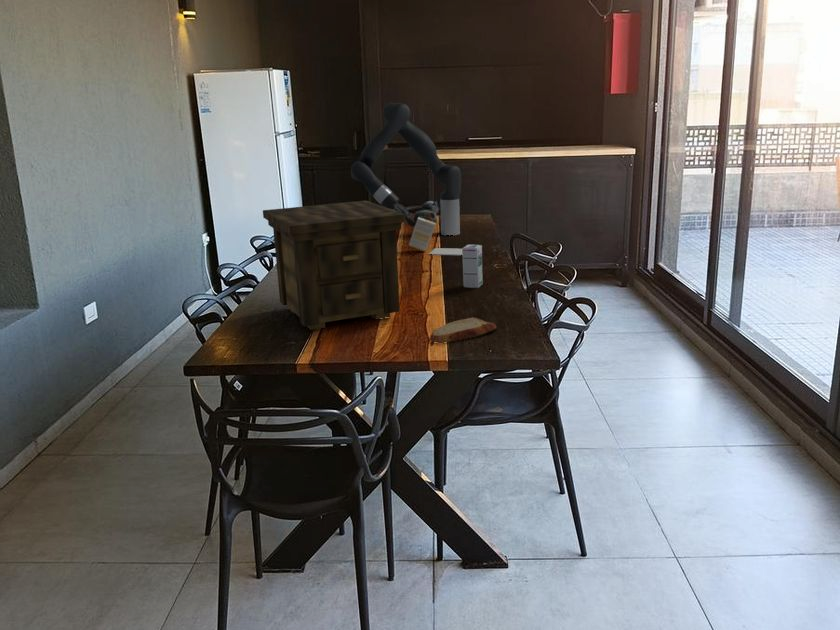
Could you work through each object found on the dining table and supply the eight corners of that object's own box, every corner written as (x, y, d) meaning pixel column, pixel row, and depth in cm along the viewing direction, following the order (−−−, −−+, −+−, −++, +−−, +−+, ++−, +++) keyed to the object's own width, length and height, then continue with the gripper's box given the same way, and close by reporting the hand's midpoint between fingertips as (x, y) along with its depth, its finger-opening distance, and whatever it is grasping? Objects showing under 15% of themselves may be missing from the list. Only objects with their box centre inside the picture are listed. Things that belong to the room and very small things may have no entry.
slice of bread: (427, 344, 204) (427, 332, 203) (437, 325, 221) (437, 313, 219) (492, 346, 200) (492, 333, 199) (497, 326, 217) (497, 314, 216)
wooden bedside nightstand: (371, 293, 256) (365, 200, 247) (409, 319, 226) (405, 214, 216) (272, 308, 243) (262, 210, 234) (299, 337, 213) (289, 226, 203)
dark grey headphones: (408, 222, 395) (414, 198, 397) (428, 229, 399) (434, 205, 401) (418, 218, 381) (425, 193, 383) (439, 225, 385) (445, 200, 387)
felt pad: (435, 249, 326) (435, 248, 326) (475, 249, 321) (475, 248, 321) (428, 254, 315) (428, 253, 315) (469, 255, 310) (469, 254, 310)
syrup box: (478, 288, 258) (478, 247, 254) (462, 287, 260) (461, 247, 256) (483, 284, 264) (482, 244, 259) (467, 283, 266) (466, 244, 261)
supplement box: (426, 250, 324) (436, 222, 320) (425, 252, 319) (435, 224, 315) (409, 243, 324) (418, 216, 320) (407, 246, 319) (417, 218, 315)
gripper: (386, 193, 311) (416, 222, 312) (396, 189, 324) (424, 216, 324) (375, 206, 314) (404, 234, 315) (385, 201, 326) (413, 228, 327)
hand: (414, 225), depth 319 cm, fingers closed
